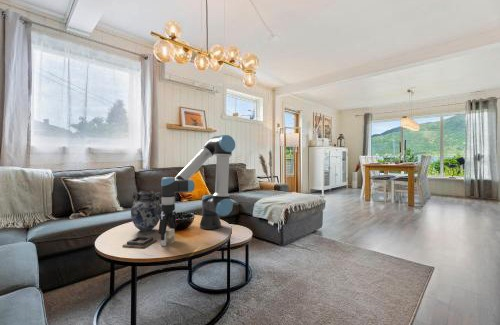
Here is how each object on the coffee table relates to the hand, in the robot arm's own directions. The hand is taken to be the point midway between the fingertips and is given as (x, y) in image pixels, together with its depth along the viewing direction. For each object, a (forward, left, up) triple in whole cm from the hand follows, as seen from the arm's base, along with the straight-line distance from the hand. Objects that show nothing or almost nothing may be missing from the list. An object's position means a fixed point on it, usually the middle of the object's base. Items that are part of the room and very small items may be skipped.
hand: (167, 242), depth 139 cm
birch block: (0, 0, 0) cm, 0 cm away
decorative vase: (+25, -17, 0) cm, 30 cm away
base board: (+15, +4, 0) cm, 15 cm away
